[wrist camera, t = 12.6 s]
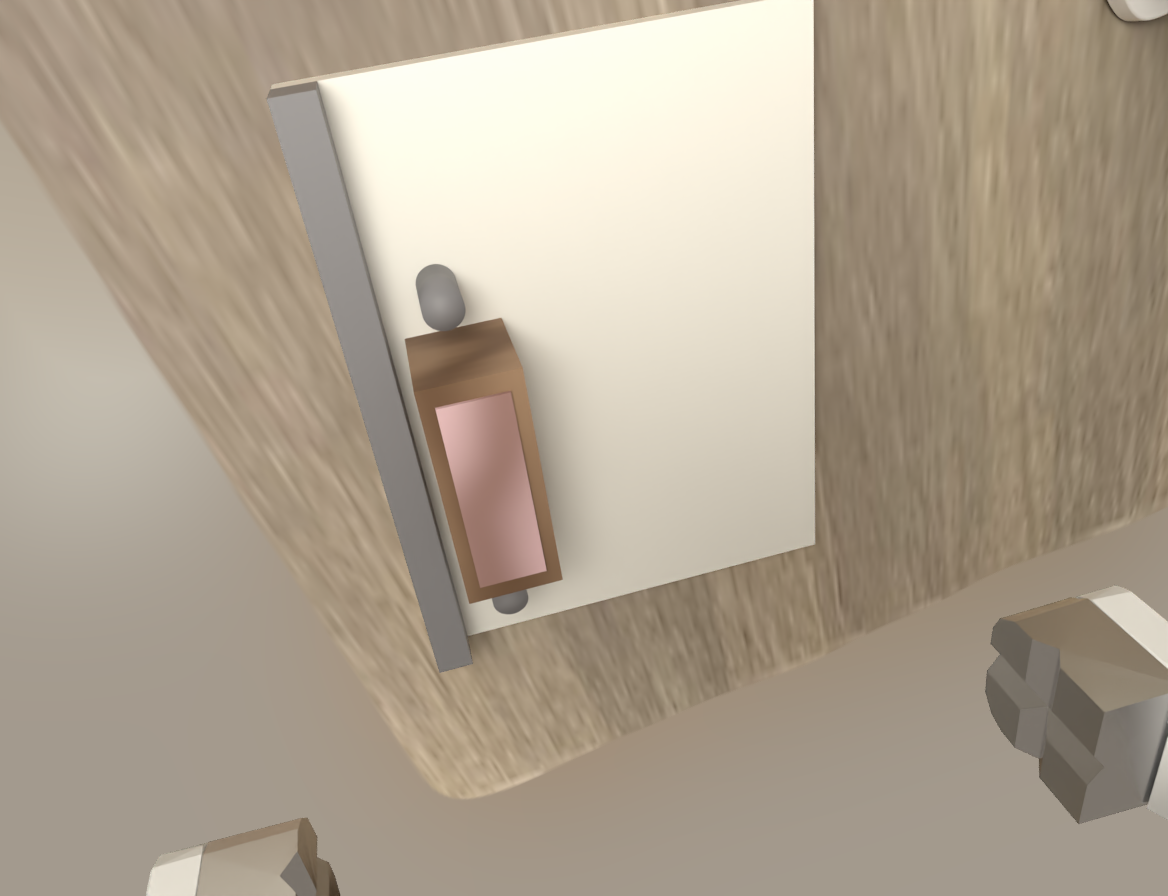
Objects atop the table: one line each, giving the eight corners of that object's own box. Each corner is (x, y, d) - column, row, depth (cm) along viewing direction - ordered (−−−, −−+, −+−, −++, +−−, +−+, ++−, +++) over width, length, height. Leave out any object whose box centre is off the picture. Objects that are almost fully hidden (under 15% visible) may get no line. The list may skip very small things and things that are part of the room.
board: (799, -11, 35) (851, -3, 31) (805, 531, 48) (842, 579, 45) (272, 84, 32) (264, 103, 29) (433, 628, 46) (441, 687, 42)
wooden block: (501, 317, 37) (523, 369, 33) (540, 514, 43) (563, 582, 38) (404, 338, 37) (414, 394, 32) (455, 535, 42) (469, 606, 38)
